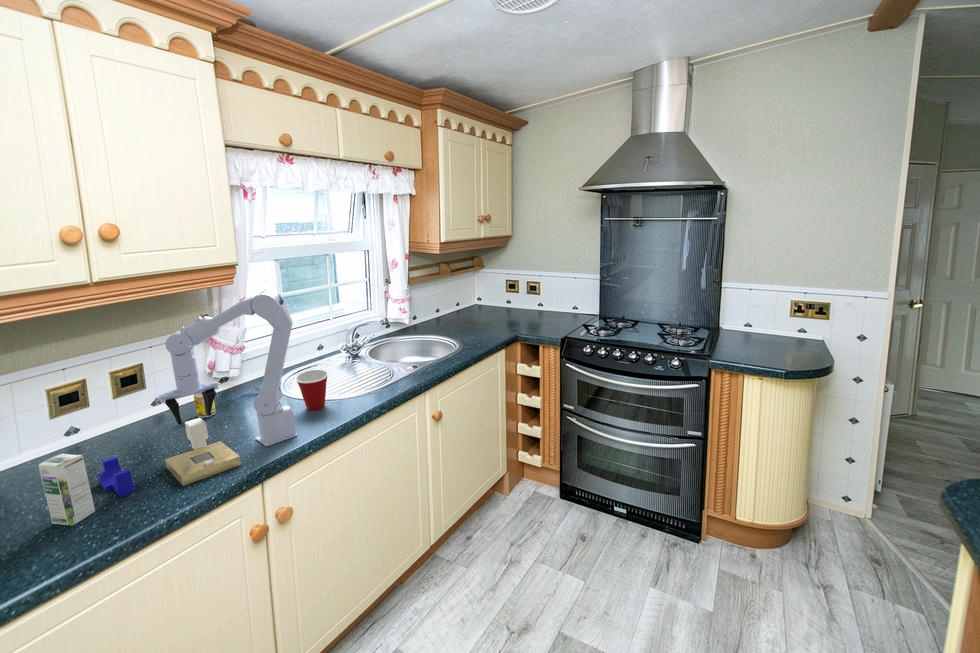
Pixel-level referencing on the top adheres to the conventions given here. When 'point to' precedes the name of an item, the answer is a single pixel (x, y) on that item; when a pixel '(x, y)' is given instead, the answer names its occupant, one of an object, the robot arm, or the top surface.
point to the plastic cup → (313, 388)
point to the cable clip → (115, 478)
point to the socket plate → (202, 463)
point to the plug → (196, 432)
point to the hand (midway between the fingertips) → (194, 419)
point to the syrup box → (66, 489)
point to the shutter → (202, 458)
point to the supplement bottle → (202, 406)
